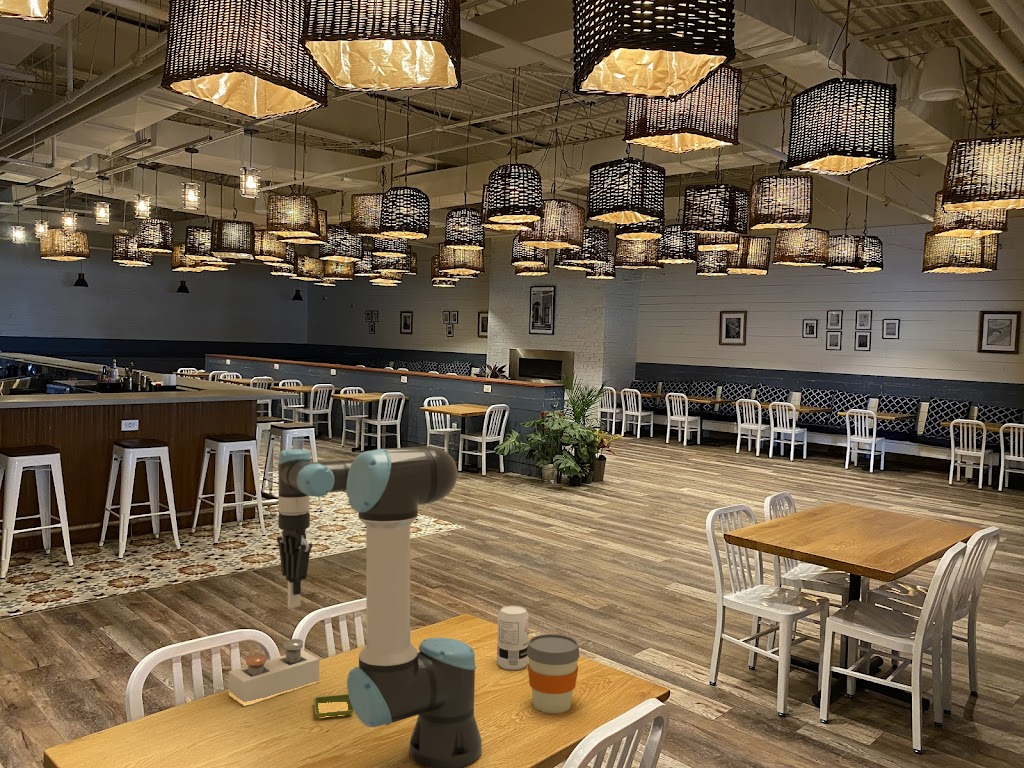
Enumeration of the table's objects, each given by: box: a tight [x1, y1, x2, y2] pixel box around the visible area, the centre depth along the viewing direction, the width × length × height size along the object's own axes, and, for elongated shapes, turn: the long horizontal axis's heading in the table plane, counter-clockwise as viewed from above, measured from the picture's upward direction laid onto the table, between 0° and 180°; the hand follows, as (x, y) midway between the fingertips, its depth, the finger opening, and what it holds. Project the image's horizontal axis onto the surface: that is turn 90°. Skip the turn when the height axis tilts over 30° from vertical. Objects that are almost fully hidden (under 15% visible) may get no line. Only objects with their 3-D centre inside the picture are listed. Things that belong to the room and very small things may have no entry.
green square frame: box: [313, 693, 355, 718], centre depth 185 cm, size 9×9×2 cm
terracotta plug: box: [245, 653, 267, 677], centre depth 192 cm, size 5×5×8 cm
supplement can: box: [496, 605, 530, 671], centre depth 213 cm, size 8×8×15 cm
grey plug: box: [283, 638, 304, 665], centre depth 199 cm, size 5×5×8 cm
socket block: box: [227, 649, 320, 702], centre depth 196 cm, size 20×8×6 cm, turn 135°
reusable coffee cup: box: [527, 633, 580, 714], centre depth 190 cm, size 13×13×15 cm
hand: (294, 606), depth 198 cm, fingers closed
